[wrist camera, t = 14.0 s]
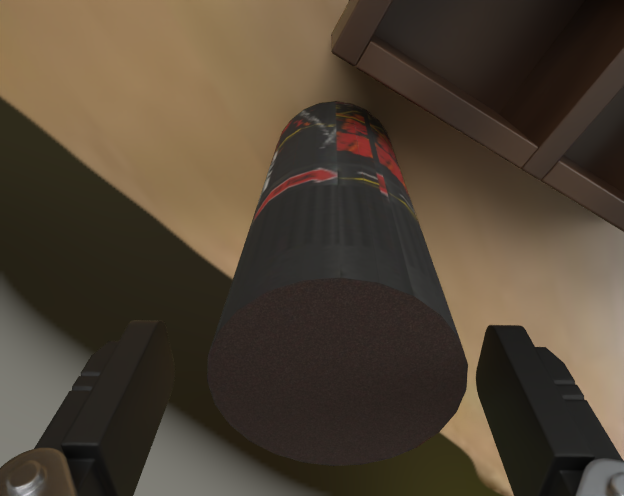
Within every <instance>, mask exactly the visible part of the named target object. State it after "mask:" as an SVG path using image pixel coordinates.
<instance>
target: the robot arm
mask: <svg viewBox="0 0 624 496" xmlns="http://www.w3.org/2000/svg"><path fill="white" fill-rule="evenodd" d="M174 379H175V366H174V361H173V356H172V351H171V347H170V343H169V338H168V333H167V329H166V326H165V323H164V322H163V321H143V320H139V321H138V320H133V321H131V322H130V323H129V324H128V326H127V327H126V330H125V331H124V333H123V335H122V336H121V338H120V340H119V341H108V342H107V343H106V344H105V345H104V346H102V347H101V348H100V349H99V350H98V351H96V352H95V353H94V354H93V355H92V356H91V357H90V359H89V360H88V362H87V364H86V365H85V367H84V369H83V370H82V372H81V376H79V377H78V379H77V380H76V382H75V383H74V385H73V386H72V391H69V393H68V395H67V396H66V398H65V399H64V401H63V403H62V404H61V406H60V408H59V409H58V411H57V412H56V414H55V416H54V417H53V419H52V421H51V422H50V424H49V425H48V427H47V429H46V430H45V432H44V434H43V435H42V437H41V439H40V440H39V442H38V443H37V445H36V446H35V448H34V449H32V450H29V451H26V452H24V453H21V454H19V455H18V456H16V457H14V458H12V459H11V460H9V461H8V462H7V463H5V464H4V465H3V466H2V467H1V468H0V496H133V495H134V492H135V489H136V486H137V484H138V481H139V479H140V476H141V473H142V470H143V468H144V465H145V462H146V460H147V457H148V454H149V452H150V449H151V446H152V443H153V441H154V438H155V435H156V433H157V430H158V427H159V425H160V422H161V419H162V416H163V414H164V411H165V408H166V406H167V403H168V400H169V398H170V395H171V392H172V389H173V385H174ZM476 386H477V392H478V396H479V399H480V401H481V404H482V407H483V410H484V413H485V415H486V418H487V421H488V424H489V427H490V429H491V432H492V435H493V438H494V441H495V443H496V446H497V449H498V452H499V455H500V457H501V460H502V463H503V466H504V469H505V471H506V474H507V477H508V480H509V483H510V485H511V488H512V491H513V494H514V496H624V461H623V459H622V458H621V456H620V455H619V453H618V451H617V450H616V448H615V446H614V445H613V443H612V442H611V440H610V438H609V437H608V435H607V433H606V432H605V430H604V428H603V427H602V425H601V423H600V422H599V420H598V418H597V417H596V415H595V413H594V412H593V410H592V409H591V407H590V405H589V404H588V402H587V400H584V395H583V394H582V392H581V390H580V389H579V387H578V385H575V381H574V379H573V377H572V376H571V374H570V372H569V371H568V369H567V367H566V366H565V364H564V363H563V362H562V361H561V360H560V359H559V358H557V357H556V356H555V355H554V354H553V353H552V352H551V351H549V350H548V349H547V348H546V347H535V346H534V344H533V343H532V341H531V339H530V337H529V335H528V334H527V332H526V330H525V329H524V328H523V327H522V326H516V325H489V326H488V327H487V329H486V332H485V337H484V341H483V345H482V349H481V353H480V358H479V362H478V366H477V371H476Z"/></svg>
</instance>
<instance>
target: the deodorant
mask: <svg viewBox="0 0 624 496" xmlns="http://www.w3.org/2000/svg"><path fill="white" fill-rule="evenodd" d="M467 370H468V363H467V360H466V357H465V354H464V351H463V348H462V345H461V342H460V339H459V336H458V333H457V330H456V327H455V325H454V322H453V319H452V316H451V313H450V310H449V307H448V305H447V302H446V299H445V296H444V293H443V290H442V288H441V285H440V282H439V279H438V276H437V273H436V271H435V268H434V265H433V262H432V259H431V256H430V254H429V251H428V248H427V245H426V242H425V239H424V237H423V234H422V231H421V228H420V225H419V222H418V219H417V217H416V214H415V211H414V208H413V205H412V202H411V200H410V197H409V194H408V191H407V188H406V185H405V183H404V180H403V177H402V174H401V171H400V168H399V166H398V163H397V160H396V157H395V154H394V151H393V148H392V146H391V143H390V140H389V137H388V134H387V132H386V131H385V129H384V128H383V126H382V125H381V124H380V122H379V121H378V120H377V119H376V118H375V117H374V116H372V115H371V114H370V113H369V112H368V111H366V110H364V109H362V108H360V107H358V106H355V105H353V104H349V103H343V102H336V101H335V102H327V103H319V104H317V105H314V106H312V107H309V108H307V109H304V110H303V111H302V112H300V113H299V114H298V115H297V116H295V117H294V118H293V119H292V120H291V121H290V122H289V123H288V125H287V126H286V127H285V129H284V130H283V131H282V134H281V136H280V139H279V141H278V144H277V147H276V150H275V153H274V156H273V159H272V162H271V165H270V168H269V171H268V174H267V177H266V180H265V183H264V186H263V189H262V192H261V196H260V199H259V202H258V205H257V208H256V211H255V214H254V217H253V220H252V223H251V226H250V229H249V232H248V235H247V238H246V241H245V244H244V247H243V251H242V254H241V257H240V260H239V263H238V266H237V269H236V272H235V275H234V278H233V281H232V284H231V287H230V290H229V293H228V296H227V299H226V303H225V306H224V309H223V312H222V315H221V318H220V321H219V324H218V327H217V330H216V333H215V336H214V339H213V342H212V345H211V348H210V351H209V355H208V372H207V381H208V385H209V388H210V391H211V394H212V397H213V400H214V403H215V405H216V406H217V408H218V409H219V410H220V412H221V413H222V415H223V416H224V417H225V419H226V420H227V422H228V423H229V424H230V425H231V426H232V427H233V428H235V429H236V430H237V431H238V432H240V433H241V434H242V435H243V436H245V437H246V438H247V439H248V440H249V441H251V442H253V443H255V444H256V445H258V446H261V447H262V448H264V449H266V450H268V451H270V452H272V453H274V454H277V455H280V456H284V457H287V458H290V459H294V460H297V461H300V462H306V463H313V464H321V465H330V466H339V465H361V464H366V463H370V462H375V461H380V460H384V459H389V458H392V457H395V456H397V455H400V454H402V453H404V452H407V451H409V450H412V449H414V448H417V447H418V446H420V445H421V444H422V443H424V442H425V441H427V440H428V439H430V438H431V437H433V436H434V435H435V434H437V433H438V432H440V430H441V429H442V428H443V427H444V426H445V425H446V424H447V422H448V421H449V420H450V419H451V418H452V417H453V416H454V414H455V413H456V412H457V410H458V407H459V405H460V403H461V400H462V398H463V396H464V394H465V391H466V387H467Z"/></svg>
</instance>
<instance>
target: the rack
mask: <svg viewBox="0 0 624 496" xmlns="http://www.w3.org/2000/svg"><path fill="white" fill-rule="evenodd" d="M331 36H332V50H331V52H332V53H333V54H335V55H336V56H338V57H339V58H341V59H343V60H344V61H346V62H348V63H349V64H351V65H352V66H355V65H356V68H357V69H359V70H361V71H362V72H364V73H365V74H367V75H369V76H370V77H372V78H374V79H375V80H377V81H378V82H380V83H382V84H383V85H385V86H387V87H388V88H390V89H392V90H393V91H395V92H396V93H398V94H400V95H401V96H403V97H405V98H406V99H408V100H409V101H411V102H413V103H414V104H416V105H418V106H419V107H421V108H423V109H424V110H426V111H427V112H429V113H431V114H432V115H434V116H436V117H437V118H439V119H440V120H442V121H444V122H445V123H447V124H449V125H450V126H452V127H454V128H455V129H457V130H458V131H460V132H462V133H463V134H465V135H467V136H468V137H470V138H472V139H473V140H475V141H476V142H478V143H480V144H481V145H483V146H485V147H486V148H488V149H489V150H491V151H493V152H494V153H496V154H498V155H499V156H501V157H503V158H504V159H506V160H507V161H509V162H511V163H512V164H514V165H516V166H517V167H519V168H521V169H522V170H524V171H525V172H527V173H529V174H530V175H532V176H534V177H535V178H537V179H538V180H541V181H542V182H543V183H545V184H547V185H548V186H550V187H552V188H553V189H555V190H556V191H558V192H560V193H561V194H563V195H565V196H566V197H568V198H570V199H571V200H573V201H574V202H576V203H578V204H579V205H581V206H583V207H584V208H586V209H587V210H589V211H591V212H592V213H594V214H596V215H597V216H599V217H601V218H602V219H604V220H605V221H607V222H609V223H610V224H612V225H614V226H615V227H617V228H618V229H620V230H622V231H623V232H624V0H349V2H348V4H347V6H346V8H345V10H344V12H343V14H342V16H341V17H340V19H339V21H338V23H337V25H336V27H335V29H334V31H333V33H332V34H331Z"/></svg>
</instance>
